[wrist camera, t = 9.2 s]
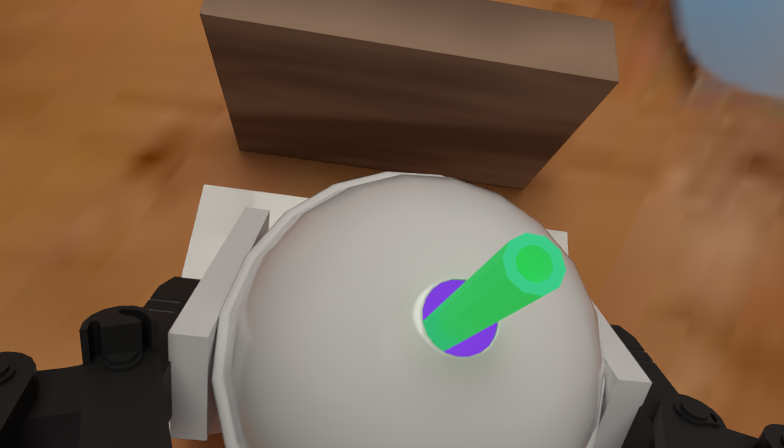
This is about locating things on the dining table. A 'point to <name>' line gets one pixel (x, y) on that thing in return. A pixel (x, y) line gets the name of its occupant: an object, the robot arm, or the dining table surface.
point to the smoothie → (408, 326)
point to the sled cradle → (220, 217)
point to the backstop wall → (410, 82)
